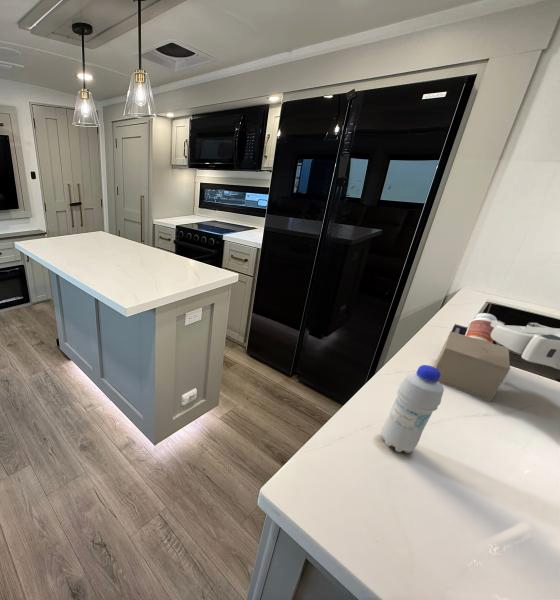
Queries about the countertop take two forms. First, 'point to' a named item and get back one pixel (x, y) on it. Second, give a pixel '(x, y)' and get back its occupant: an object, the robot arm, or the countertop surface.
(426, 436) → the countertop surface
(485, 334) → the pill bottle
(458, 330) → the detergent drawer
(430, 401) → the bottle
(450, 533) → the countertop surface
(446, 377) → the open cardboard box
